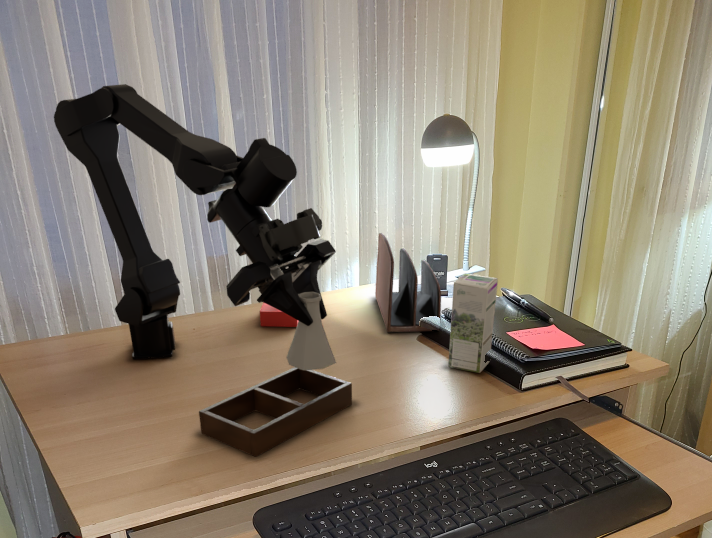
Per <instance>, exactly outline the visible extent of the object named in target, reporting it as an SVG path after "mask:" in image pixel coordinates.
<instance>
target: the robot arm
mask: <svg viewBox="0 0 712 538" xmlns="http://www.w3.org/2000/svg"><path fill="white" fill-rule="evenodd" d="M53 121H54V125H55V128H56V130H57V132H58V133H59V134H58V135H59V136H60V138H61V140H62V141H63V143H64V145H65V148H66V149H67V151H68V152H69V153H70V154H71V155H73V156H74V158H75V159H77V160H78V161H79V162H80V163H81V165H83V166H84V167H85V169H86V172H87V174H88V176H89V179H90V181H91V184H92V186H93V189H94V191H95V194H96V196H97V198H98V201H99V204H100V205H101V209H102V212H103V214H104V217H105V219H106V221H107V224H108V226H109V228H110V231H111V234H112V236H113V239H114V242H115V244H116V247H117V249H118V252H119V254H120V257H121V260H122V266H121V267H122V268H121V275H120V284H121V287H122V290H123V293H124V294H123V296H122V297H121V299H120V300H119V301H118V303H117V304H116V306H115V307H114V311H115V314H116V316H117V318H118V321H119V322H121V323H124V324H128V329H129V334H130V335H129V336H130V339H131V340H130V341H131V346H132V354H131V358H132V360H144V359H145V360H147V359H160V358H161V359H162V358H172V357H173V356H174V355H173V354H174V353H173V352H174V351H175V349H176V337H175V331H174V323H173V321H170V319H169V315H171V314H174V313H176V312H177V307H178V303H179V302H178V301H179V297H180V296H181V291H180V290H181V289H180V285H179V284H181V281H180V280H179V278H178V276H177V274H176V272H175V269H174V265H173V264H174V263H173V262H172V261H171V260H170V258H165V259H162V258H161V257H160V256H159V255H158V254H157V253H156V252H155V251H154V249H153V247H152V244H151V242H150V239H149V236H148V234H147V231H146V228H145V227H144V224H143V221H142V218H141V215H140V214H139V210H138V208H137V205H136V202H135V200H134V197H133V195H132V192H131V190H130V187H129V184H128V182H127V179H126V176H125V174H124V171H123V169H122V165H121V162H120V161H119V158H118V155H119V147H120V140H121V139H120V138H121V136H120V132H119V128H118V127H119V126H120V125H121V126H123V127H124V128H125V129H126V130H128V131H129V132H130V133H132V134H133V135H135V136H136V137H137V138H139V139H140V140H141V141H142V142H144V143H145V144H146V145H148V146H149V147H150V148H152V149H153V150H154V151H156V152H157V153H159V154H160V155H161V156H163V157H164V158H165V159H166V160H167V161H169V162H170V164H171V165H172V168H173V171H174V173H175V174H174V175H176V177H177V178H178V179H179V180H180V181H181V182H182V183H183V184H184V185H185V186H186V187H187V188H188V189H189V191H190V192H191V193H193V194H195V195H197V196H206V195H210V194H213V193H217V192H221V193H220V195H219V196H218V198H217V199H214V200H211V201H208V202H207V205H208V209H207V214H206V216H207V217H206V220H207V223H209V224H210V223H211V224H212V223H214V222H217V221H222V223H223V224H224V225H225V227H226V228H227V230H228V231H229V232H230V234H231V235H232V237H233V238H234V240H236V243H238V245H239V246H238V247H237V248H236V249H235V252H236V253H237V255H238V256H239V257H242V256H246V257H247V258H248V259H249V261H250V262H251V263H250V264H247V265H245V266H242V267H241V268H240V269H239V270H238V271H237V273H236V274H235V275H234V276H233V277H232V279H231V280H230V281H229V282H228V283H227V284H226V296H227V297H228V299H229V300H230V302H231V303H232V304H233V306H234V307H238V306H240V305H243V304H245V303H248V301H249V300H250V299H251V290H254V289H256V288H258V292H259V293H260V295H259V297H257V299H256V302H258V304H260V303H263V302H264V303H266V304H268V305H270V306H272V307H274V308H276V309H278V310H280V311H282V312H284V313H286V314H288V315H289V316H291V317H293V318H295V319H296V320H298V321H300V322H302V323H303V324H305V325H307V326H310V325H311V324H312V323H313V319H312V318H311V316H310V314H309V312H308V310H307V309H306V307H305V305H304V304H303V302H302V301H301V299H300V298H299V296H298V294H301V293H304V292H316V293H319V294H320V295H321V301H319V309H320V316H321V320H324V319H326V318H327V317H328V313H327V310H326V306H325V302H324V300H323V296H322V294H321V293H322V292H321V290H320V286H319V281H318V272H319V270H320V269H321V268H322V267H323V266H324V265H326V263H327V262H328V261H329V260H330V259H331V258H332V257H333V256H334V255H335V254H336V252H337V250H336V249H335V248H334V246H333V245H332V244H331V242H330V240H328V239H323V238H321V235H320V231H322V228H323V220H322V219H321V218H320V216H319V215H318V214H317V213H316V211H315V210H314V209H313V208H312V207H310V208H306V209H304V210H303V211H299V212H297V214H296V219H293V220H290V221H288V222H286V223H284V221H283V220H282V219H280V218H275V219H272V218H271V217H270V216H269V214H268V213H267V211H266V210H265V208H271V207H273V206H274V205H275V203H276V202H277V201H278V200H279V199H280V197H281V196H282V195H283V193H284V192H285V191H286V190H287V189H288V188H289V186H290V185H291V184H292V183H293V181H294V180H295V179H296V177H297V175H298V170H297V167H296V163H295V162H294V160H293V158H292V157H291V156H290V155H289V154H286V152H285V151H284V150H282V149H281V148H279V147H278V146H275V145H273V144H270V143H269V141H268V139H266V137H261V138H256V139H255V138H254V139H253V141H252V142H251V143H250V146H249V149H248V150H247V152H246V153H245V155H244V156H243V157H242V156H239V155H237V154H236V152H235V151H234V149H232V148H231V147H229V145H228V146H227V145H226V144H224V143H221V142H219V141H217V140H215V139H212V138H209V137H207V136H202V135H198V134H195V133H193V132H192V131H191V132H190V131H189V130H187V129H186V128H185V127H184V126H182V125H181V124H179V123H178V122H176V121H175V120H174V119H172V118H171V117H170V116H168V115H167V114H166V113H164V112H163V111H162V110H161V109H159V108H158V107H156V105H153V104H152V103H150V102H149V101H148V100H147V99H145V98H144V97H143V96H141V95H140V94H138V92H137V90H136V89H135V88H134V87H133V86H131V85H128V84H126V83H122V84H112V85H103V86H101V87H100V88H97V90H95V91H93V92H91V93H89V94H86V95H83V96H81V97H78V98H70V99H69V98H68V99H62V100H60V101H59V102H58V103H57V104H56V108H55V111H54V114H53ZM311 240H313V241H312V242H309V241H311ZM314 240H315V241H314ZM308 242H309V243H308ZM306 243H307V244H306ZM303 244H306V245H305V246H304V247H303ZM296 254H297V255H296Z"/></svg>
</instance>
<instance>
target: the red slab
mask: <svg viewBox="0 0 712 538" xmlns="http://www.w3.org/2000/svg"><path fill="white" fill-rule="evenodd" d="M259 320H260V323H259V324H260V327H281V328H282V327H286V328H287V327H288V328H297V325H298V320H296V319H295V318H293V317H291V316H289V315H288V314H286V313H284V312H282V311H280V310H278V309H276V308H274V307H272V306H270V305H268V304H266V303H264V302H262V305H261V307H260V310H259Z"/></svg>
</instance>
